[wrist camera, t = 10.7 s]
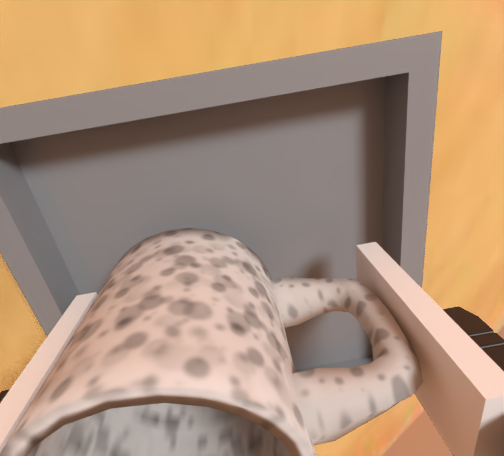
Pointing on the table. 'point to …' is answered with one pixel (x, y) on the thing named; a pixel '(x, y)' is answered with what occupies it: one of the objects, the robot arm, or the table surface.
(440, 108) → the table surface
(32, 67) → the table surface
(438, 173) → the table surface
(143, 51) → the table surface
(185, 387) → the mug
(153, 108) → the tray
